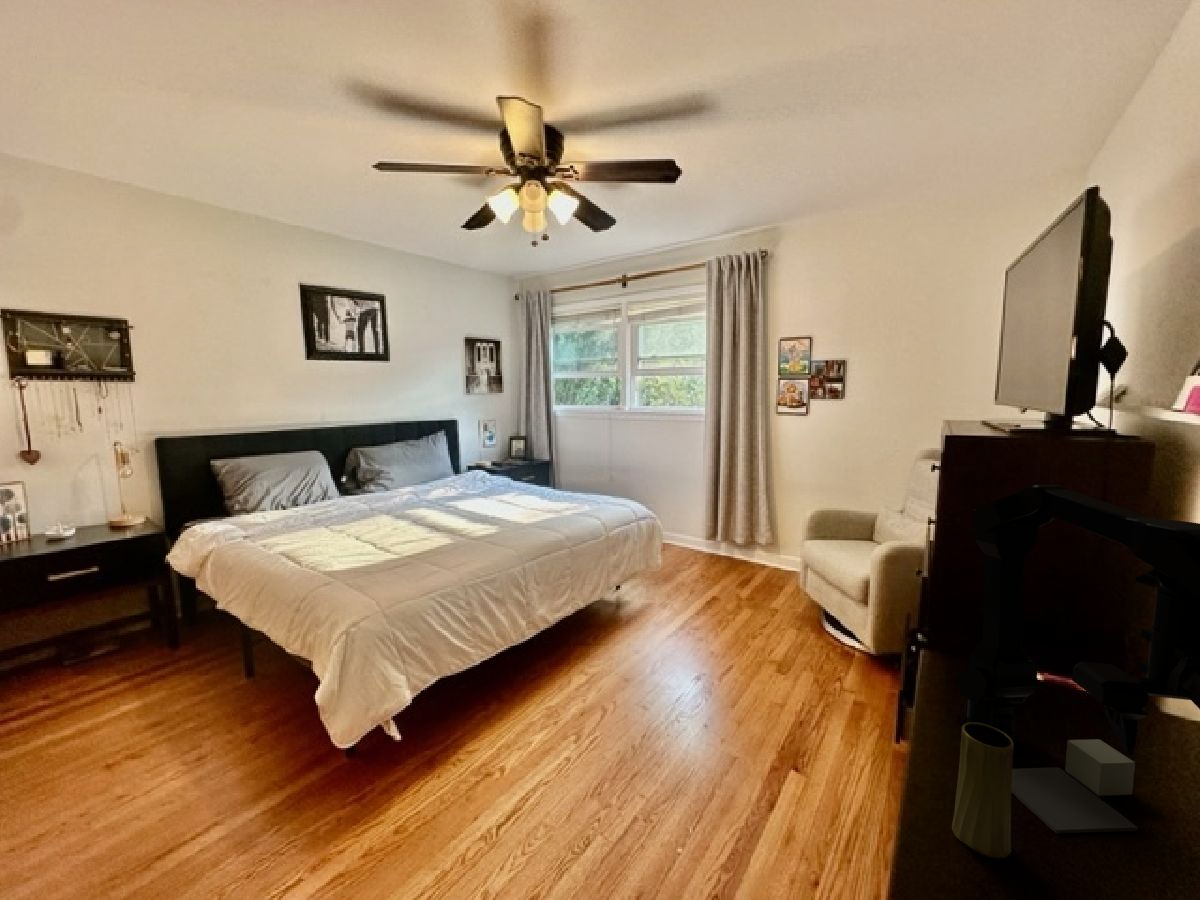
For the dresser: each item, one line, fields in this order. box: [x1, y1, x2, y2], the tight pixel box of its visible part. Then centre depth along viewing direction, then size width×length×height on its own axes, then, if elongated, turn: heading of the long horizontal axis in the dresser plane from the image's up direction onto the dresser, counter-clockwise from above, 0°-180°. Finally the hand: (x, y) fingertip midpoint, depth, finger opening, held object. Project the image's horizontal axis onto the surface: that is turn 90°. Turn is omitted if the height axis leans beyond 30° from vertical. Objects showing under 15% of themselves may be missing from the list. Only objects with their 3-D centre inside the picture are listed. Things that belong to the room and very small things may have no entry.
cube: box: [1064, 738, 1136, 797], centre depth 74 cm, size 5×5×5 cm
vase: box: [951, 722, 1015, 858], centre depth 64 cm, size 6×6×14 cm
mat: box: [1011, 766, 1139, 834], centre depth 71 cm, size 11×11×1 cm
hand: (1172, 758), depth 60 cm, fingers open, 9 cm apart
